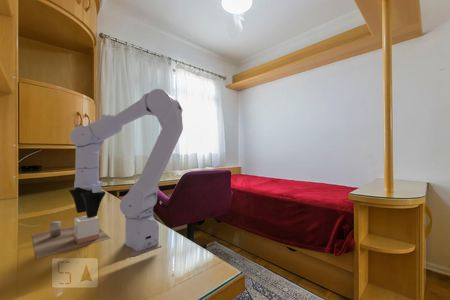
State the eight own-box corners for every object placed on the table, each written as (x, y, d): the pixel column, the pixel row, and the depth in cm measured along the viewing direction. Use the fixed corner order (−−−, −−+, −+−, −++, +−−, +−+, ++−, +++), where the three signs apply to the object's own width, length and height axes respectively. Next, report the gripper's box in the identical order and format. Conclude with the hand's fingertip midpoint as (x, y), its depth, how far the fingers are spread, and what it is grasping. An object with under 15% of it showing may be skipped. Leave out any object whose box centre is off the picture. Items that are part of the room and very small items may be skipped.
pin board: (110, 242, 59) (111, 224, 59) (35, 263, 47) (36, 241, 47) (92, 225, 72) (93, 211, 73) (31, 238, 61) (31, 221, 61)
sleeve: (98, 238, 59) (99, 217, 59) (77, 243, 55) (77, 221, 55) (94, 233, 62) (94, 214, 62) (73, 238, 58) (74, 217, 58)
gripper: (113, 168, 58) (112, 215, 58) (92, 166, 66) (91, 207, 66) (85, 169, 52) (84, 222, 52) (66, 167, 61) (65, 212, 60)
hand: (86, 214), depth 59 cm, fingers open, 7 cm apart
